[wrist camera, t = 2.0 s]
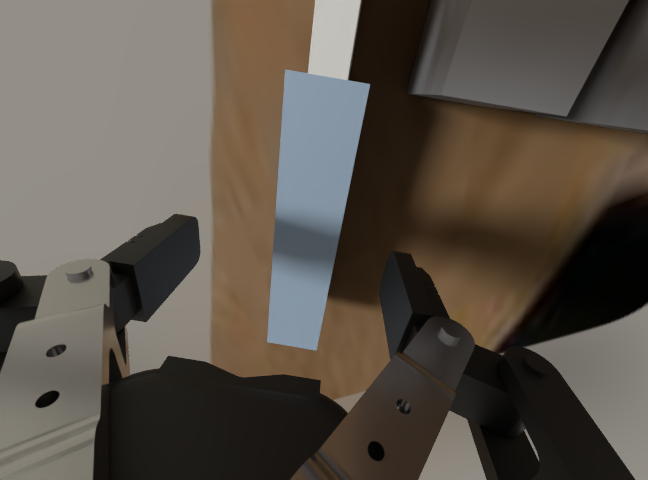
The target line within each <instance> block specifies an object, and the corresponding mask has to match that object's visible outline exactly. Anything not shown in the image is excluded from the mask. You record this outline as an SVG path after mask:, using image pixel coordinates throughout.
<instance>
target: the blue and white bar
mask: <svg viewBox="0 0 648 480" xmlns="http://www.w3.org/2000/svg"><path fill="white" fill-rule="evenodd" d="M361 5H362V0H315V9H314V19H313V29H312V39H311V48H310V58H309V68H308V73H302V72H297V71H291V70H285V81H284V96H283V111H282V126H281V141H280V156H279V172H278V187H277V202H276V217H275V232H274V247H273V262H272V277H271V292H270V307H269V322H268V337H267V342H270V343H276V344H281V345H287V346H293V347H299V348H305V349H310V350H317V345H318V340H319V335H320V330H321V325H322V320H323V315H324V311H325V306H326V301H327V296H328V291H329V286H330V281H331V276H332V271H333V266H334V261H335V256H336V251H337V246H338V241H339V236H340V231H341V226H342V221H343V217H344V212H345V207H346V202H347V197H348V192H349V187H350V182H351V177H352V172H353V167H354V162H355V157H356V152H357V147H358V142H359V137H360V132H361V127H362V122H363V118H364V113H365V108H366V103H367V98H368V93H369V88H370V84H367V83H361V82H355V81H349V76H350V70H351V64H352V58H353V53H354V47H355V41H356V35H357V29H358V23H359V17H360V11H361Z"/></svg>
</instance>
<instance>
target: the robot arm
mask: <svg viewBox="0 0 648 480" xmlns="http://www.w3.org/2000/svg"><path fill="white" fill-rule="evenodd" d="M199 257H200V240H199V227H198V221H197V219H196V217H192V216H186V215H179V214H174V215H173V216H171V217H170V218H168V219H167V220H165V221H164V222H163V223H159V224H157V225H154V226H151V227H148V228H146V229H144V230H143V231H142V232H140V233H139V234H137V236H134V237H133V238H131V239H130V240H129V241H128V242H125V243H124V244H122V245H121V246H120V247H118V248H117V249H115V250H114V251H112V252H111V253H109V254H108V255H106V256H105V257H103V258H102V259H100V260H97V259H84V260H78V261H73V262H70V263H66V264H64V265H61V266H60V267H58V268H56V269H54V270H53V271H51V272H50V273H49V274H48V275H47V276H46V275H45V276H21V275H20V273H19V271H18V269H17V267H16V265H15V264H14V263H12V262H9V261H1V260H0V480H418V479H419V476H420V474H421V472H422V469H423V467H424V465H425V463H426V461H427V459H428V456H429V454H430V452H431V450H432V447H433V445H434V443H435V441H436V438H437V436H438V434H439V432H440V429H441V427H442V425H443V423H444V420H445V418H446V416H447V414H448V412H449V410H450V411H452V412H454V413H456V414H458V415H460V416H462V417H464V418H466V419H467V420H468V423H469V426H470V429H471V432H472V436H473V439H474V442H475V445H476V448H477V451H478V454H479V457H480V461H481V464H482V467H483V470H484V473H485V476H486V479H487V480H635V479H634V477H633V476H632V474H631V473H630V471H629V470H628V469H627V467H626V466H625V464H624V463H623V462H622V460H621V459H620V457H619V456H618V455H617V453H616V452H615V450H614V449H613V447H612V446H611V445H610V443H609V442H608V441H607V439H606V438H605V436H604V435H603V434H602V432H601V431H600V429H599V428H598V427H597V425H596V424H595V422H594V421H593V419H592V418H591V417H590V415H589V414H588V412H587V411H586V410H585V408H584V407H583V405H582V404H581V402H580V401H579V400H578V398H577V397H576V395H575V394H574V393H573V391H572V390H571V388H570V387H569V386H568V384H567V383H566V381H565V380H564V378H563V377H562V376H561V374H560V373H559V372H558V370H557V369H556V368H555V367H554V366H553V365H552V364H551V363H550V362H549V361H547V360H546V359H545V358H543V357H542V356H540V355H539V354H537V353H535V352H533V351H531V350H529V349H526V348H523V347H518V346H513V347H510V348H508V349H507V350H506V352H505V353H504V354H503V356H502V355H500V354H497V353H495V352H493V351H490V350H488V349H485V348H483V347H480V346H478V345H476V344H475V342H474V339H473V337H472V335H471V334H470V333H469V331H468V330H467V329H466V328H465V327H463V326H462V325H461V324H459V323H458V322H456V321H454V320H452V319H450V318H449V315H448V313H447V311H446V309H445V307H444V305H443V303H442V300H441V298H440V296H439V295H438V292H437V290H436V288H435V287H434V283H433V281H432V279H431V277H430V276H429V275H428V274H427V273H426V272H425V271H424V270H423V269H422V268H419V267H416V265H415V263H414V260H413V258H412V255H411V254H408V253H402V252H396V251H392V252H391V253H390V255H389V258H388V261H387V264H386V267H385V270H384V273H383V277H382V280H381V283H380V291H379V294H380V301H381V307H382V313H383V319H384V324H385V330H386V336H387V342H388V348H389V354H390V359H391V361H390V362H389V363H388V364H387V366H386V367H385V368H384V369H383V371H382V372H381V373H380V374H379V376H378V377H377V378H376V379H375V381H374V382H373V383H372V384H371V386H370V387H369V388H368V389H367V391H366V392H365V393H364V394H363V396H362V397H361V398H360V399H359V401H358V402H357V403H356V404H355V406H354V407H353V408H352V409H351V411H350V412H349V413H347V412H346V411H345V410H344V409H343V408H342V407H341V406H340V405H339V404H337V403H336V402H335V401H333V400H332V399H330V398H328V397H327V396H325V395H323V394H321V393H320V383H321V380H315V379H308V378H302V377H296V376H290V375H284V374H283V375H271V376H258V377H246V378H243V377H238V376H236V375H234V374H231V373H229V372H227V371H225V370H223V369H220V368H218V367H216V366H214V365H212V364H209V363H207V362H203V361H196V360H191V359H185V358H178V357H172V356H168V357H167V358H166V360H165V361H164V363H163V364H162V366H161V367H160V368H159V369H152V370H146V371H142V372H139V373H136V374H132V375H130V365H129V351H128V349H129V348H128V332H127V328H126V324H127V323H128V322H129V321H130V320H137V321H143V322H147V321H148V320H149V318H150V317H151V316H152V315H153V314H154V312H155V311H156V310H157V309H158V308H159V307H160V305H162V303H163V302H164V301H165V300H166V299H167V298H168V296H169V295H170V294H171V293H172V292H173V291H174V290H175V288H176V287H177V286H178V285H179V284H180V283H181V281H182V280H183V279H184V278H185V277H186V276H187V275H188V273H189V272H190V271H191V270H192V269H193V268H194V266H195V265H196V264H197V262H198V260H199ZM525 429H526V430H527V432H528V434H529V436H530V438H531V440H532V442H533V444H534V446H535V448H536V450H537V453H538V456H539V461H538V459H537V457H536V455H535V453H534V450H533V448H532V446H531V444H530V442H529V440H528V438H527V436H526V434H525V432H524V430H525Z"/></svg>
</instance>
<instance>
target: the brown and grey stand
mask: <svg viewBox="0 0 648 480" xmlns="http://www.w3.org/2000/svg"><path fill="white" fill-rule="evenodd" d="M406 94H411V95H417V96H423V97H428V98H434V99H440V100H446V101H452V102H458V103H463V104H469V105H475V106H481V107H488V108H497V109H506V110H514V111H523V112H532V113H535V115H534V116H539V117H545V118H551V119H557V120H563V121H569V122H574V123H580V124H586V125H592V126H598V127H604V128H609V129H616V130H623V131H630V132H637V133H644V134H648V0H431V2H430V6H429V10H428V13H427V17H426V21H425V25H424V29H423V32H422V36H421V40H420V44H419V48H418V51H417V55H416V59H415V63H414V67H413V70H412V74H411V78H410V82H409V86H408V89H407V93H406Z"/></svg>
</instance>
